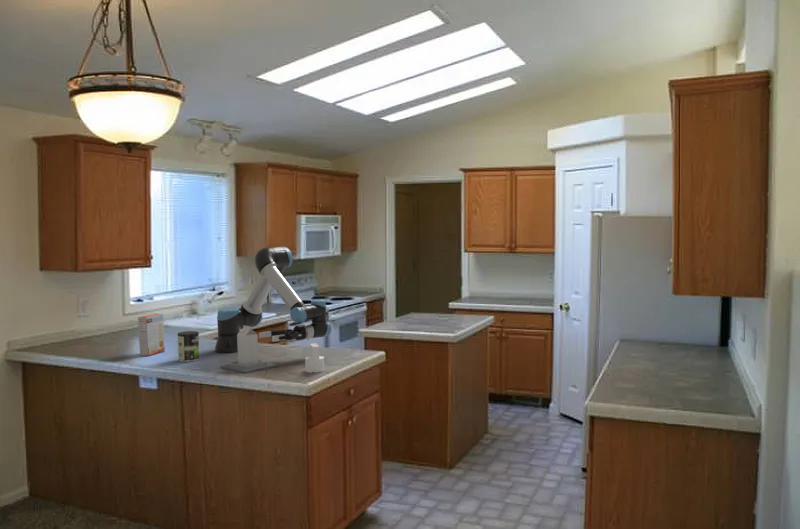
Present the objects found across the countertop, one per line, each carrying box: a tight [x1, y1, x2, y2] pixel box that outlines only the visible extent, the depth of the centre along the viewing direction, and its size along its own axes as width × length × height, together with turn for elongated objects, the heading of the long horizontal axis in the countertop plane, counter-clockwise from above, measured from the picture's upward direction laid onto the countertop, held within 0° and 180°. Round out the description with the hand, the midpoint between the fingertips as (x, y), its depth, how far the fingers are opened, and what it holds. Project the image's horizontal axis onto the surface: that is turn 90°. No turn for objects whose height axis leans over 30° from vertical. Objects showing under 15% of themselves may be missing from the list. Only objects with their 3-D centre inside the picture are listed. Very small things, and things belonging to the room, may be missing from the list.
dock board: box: [219, 362, 277, 374], centre depth 321 cm, size 20×18×1 cm
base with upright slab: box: [304, 343, 325, 374], centre depth 312 cm, size 9×9×12 cm
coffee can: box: [177, 330, 200, 363], centre depth 340 cm, size 10×10×14 cm
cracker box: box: [137, 313, 166, 357], centre depth 357 cm, size 14×6×21 cm, turn 163°
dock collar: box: [229, 359, 268, 369], centre depth 321 cm, size 12×12×2 cm
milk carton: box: [237, 325, 259, 365], centre depth 320 cm, size 7×7×19 cm
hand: (265, 337), depth 326 cm, fingers open, 13 cm apart
